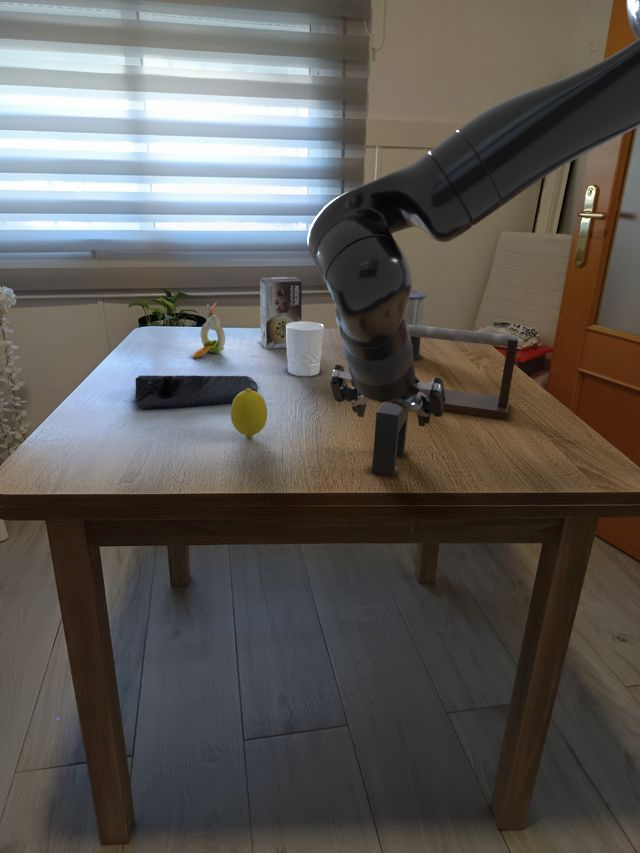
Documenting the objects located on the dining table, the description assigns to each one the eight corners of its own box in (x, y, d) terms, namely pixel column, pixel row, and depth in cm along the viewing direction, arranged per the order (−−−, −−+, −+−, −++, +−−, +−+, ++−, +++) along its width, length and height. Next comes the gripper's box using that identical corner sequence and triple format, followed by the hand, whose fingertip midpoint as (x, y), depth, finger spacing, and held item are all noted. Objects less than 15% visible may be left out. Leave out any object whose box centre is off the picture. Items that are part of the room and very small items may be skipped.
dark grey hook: (371, 472, 79) (376, 412, 76) (384, 450, 86) (389, 393, 83) (392, 476, 79) (398, 415, 75) (404, 453, 86) (410, 396, 82)
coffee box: (294, 341, 147) (296, 276, 140) (301, 347, 141) (303, 280, 135) (259, 342, 144) (259, 276, 138) (265, 349, 138) (265, 280, 132)
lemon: (264, 429, 92) (264, 382, 89) (269, 443, 87) (269, 393, 84) (230, 431, 91) (228, 383, 88) (232, 445, 86) (231, 395, 83)
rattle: (181, 352, 133) (178, 302, 129) (213, 347, 138) (211, 299, 134) (195, 359, 128) (193, 308, 123) (228, 354, 132) (227, 305, 128)
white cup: (288, 378, 118) (288, 330, 114) (282, 367, 125) (283, 321, 121) (325, 376, 119) (327, 329, 115) (318, 366, 126) (319, 321, 123)
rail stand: (508, 405, 107) (520, 331, 101) (506, 420, 100) (519, 341, 94) (392, 389, 113) (398, 319, 108) (382, 402, 106) (388, 327, 101)
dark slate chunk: (260, 408, 101) (260, 383, 99) (130, 411, 97) (128, 385, 96) (255, 381, 115) (255, 358, 113) (142, 383, 111) (140, 359, 110)
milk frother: (426, 355, 138) (433, 292, 132) (400, 370, 125) (406, 302, 120) (373, 346, 145) (377, 286, 139) (343, 359, 132) (346, 294, 126)
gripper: (311, 375, 66) (336, 432, 80) (436, 392, 61) (439, 448, 76) (327, 321, 68) (349, 384, 83) (448, 333, 64) (449, 398, 79)
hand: (392, 415), depth 79 cm, fingers open, 8 cm apart
